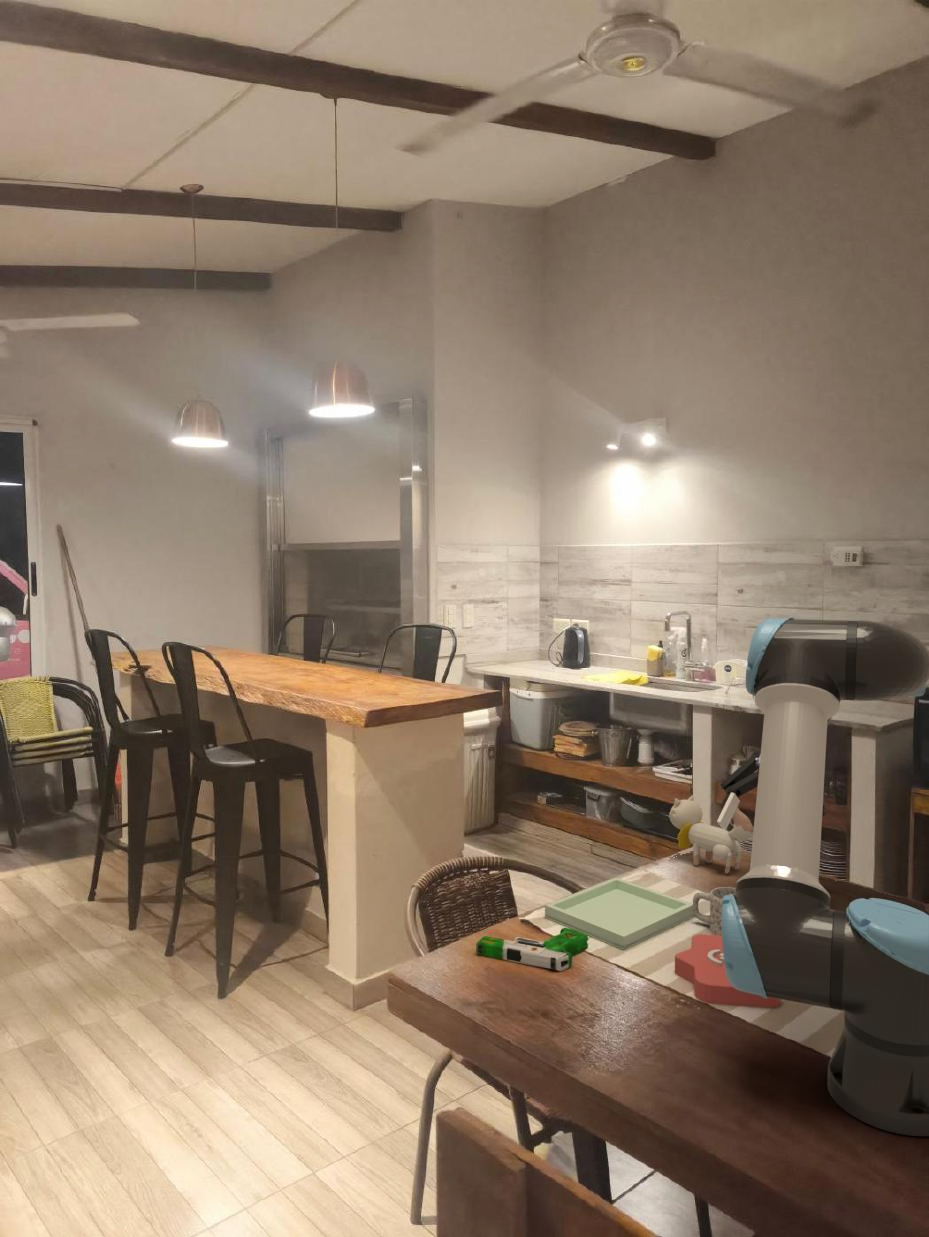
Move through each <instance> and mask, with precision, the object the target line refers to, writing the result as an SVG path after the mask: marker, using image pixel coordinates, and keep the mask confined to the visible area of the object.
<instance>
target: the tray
mask: <svg viewBox="0 0 929 1237" xmlns="http://www.w3.org/2000/svg"><path fill="white" fill-rule="evenodd" d="M544 918H545V919H547V920H550V921H552V922H555V923H557V924H560V925H562V926H564V927H566V928H568V929H572V930H576V931H579V932H583V933H585V934H586V935H587V936H589V937H592V938H594V939H597V940H599V941H600V942H603V943H605V944H608V945H610V946H613V947H616V948H618V949H620V950H622V951H625V950H627V949H630V948H631V947H634V946H636V945H637V944H640V943H642V942H644V941H646V940H648V939H651V938H653V937H655V936H656V935H657V936H658V935H659V934H661V933H663V932H665V931H667V930H669V929H671V928H673V927H676V926H677V925H680V924H682V923H684V922H686V921H688V920H690V919H692V918H695V917H694V913H693V902H692V903H691V902H689V901H685V900H683V899H680V898H677V897H674V896H673V895H672V896H671V895H668V894H665V893H662V892H659V891H656V890H654V889H651V888H648V887H645V886H642V885H639V884H636V883H633V882H630V881H627V880H624V879H621V878H618V877H613V878H610V879H608V880H606V881H603V882H601V883H598V884H595V885H593V886H591V887H588V888H585V889H583V890H580V891H577V892H575V893H573V894H570V895H568V896H565V897H562V898H560V899H557V900H555V901H551V902H550V903H548V904H544Z"/></svg>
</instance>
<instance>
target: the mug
mask: <svg viewBox="0 0 929 1237" xmlns="http://www.w3.org/2000/svg"><path fill="white" fill-rule="evenodd" d="M729 894H733V895H735V894H736V887H732V886H719V887H715V888H713V889H711V890H710V892H696V893H694V895H693V898H692V904H693V913H694V917H693V918H695V919H698V920H699V921H702V922H703V923H705V924H708V925H709V931H710V933H712V935H720V936H722V927H721V909H722V899H723V897H724V896H725V895H729ZM701 899H702V900H705V901H708V902H709V915H706V914H702V913H700V911H699V902H700V900H701Z"/></svg>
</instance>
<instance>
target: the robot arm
mask: <svg viewBox="0 0 929 1237" xmlns="http://www.w3.org/2000/svg"><path fill="white" fill-rule="evenodd" d="M928 682H929V649H928V647H927V646H926V645H925V643H924V642H922V640H921V639H919V638H918V637H917V636H915V635H913V634H912V633H910V632H907V631H905V630H903V629H900V628H898V627H895V626H891V625H889V624H886V623H881V622H876V621H870V620H843V619H840V620H838V619H835V620H834V619H805V618H803V619H799V618H798V619H797V618H794V617H789V616H788V617H786V618H768V619H764V620H763V621H762V622H760V623H759V624H758V625H757V626H756V628H755V629H754V633H753V636H752V638H751V642H750V646H749V650H748V655H747V665H746V670H745V689H746V691H747V693H748V694H750V695H752V696H754V703H755V706H756V707H757V709H759V710H760V711H761V712H762V713H763V725H762V735H761V746H760V752H759V751H758V750H755V751H753V752H752V753H751V755H750V757H749V758H748V759H747V760H746V762H744V763H743V764H741V766H740V767H738V768H737V769H736V770H735V771H733V772H732V773H731V774H730V775H729V776H728V777H726V778H725V779H724V780H723V781H722V782H721V783H720V787H721V790H723V791H724V793H725V794H726V795H725V796H724V798H723V800H722V803H721V805H720V807H721V809H722V810H721V813H720V814H719V816H718V819H717V820H716V822H717V824H718V825H719V826H720V828H722V829H724V830H727V829H728V826H729V825H730V823H731V821H732V820H733V818H732V817H733V815H734V812H735V810H736V808H737V806H738V807H739V805H740V802H741V800H740V799H739V798H740V797H741V796H744V795H745V794H747V793H748V792H750V791H752V790H754V789H756V788H757V791H756V799H755V800H756V801H755V802H756V803H755V809H754V810H755V811H754V812H755V813H754V821H753V822H754V823H753V829H754V831H753V836H752V843H751V844H752V845H751V853H750V854H751V856H750V865H749V867H750V868H749V871H748V872H747V873H746V874H744V875H743V876H741V877H740V878H739V879H737V881H736V886H735V888H736V894H735V895H733V894H729V895H725V896H724V897H723V899H722V909H721V927H722V946H723V957H724V965H725V971H726V976H727V979H728V981H729V982H730V984H731V985H732V986H733V987H734V988H735V989H737V990H739V991H743V992H747V993H751V994H755V995H760V996H762V997H763V998H766V999H767V997H771V998H777V999H780V1000H784V1001H788V1002H789V1001H790V1002H795V1003H798V1004H799V1003H801V1004H806V1005H810V1006H811V1005H812V1006H816V1007H821V1008H826V1009H831V1010H838V1011H842V1012H844V1024H843V1025H844V1026H843V1029H842V1031H841V1033H840V1036H839V1039H838V1041H837V1043H836V1046H835V1048H834V1050H833V1053H832V1055H831V1057H830V1060H829V1061H828V1067H827V1086H826V1087H827V1090H828V1092H829V1095H830V1097H831V1098H832V1100H833V1101H834V1102H835V1103H836V1104H837V1105H838V1106H839V1108H841V1109H842V1110H843V1111H844V1112H846V1113H847V1114H849V1115H850V1116H852V1117H853V1118H856V1119H857V1120H859V1121H861V1122H863V1123H865V1124H868V1125H869V1126H872V1127H874V1128H877V1129H879V1130H883V1131H886V1132H890V1133H893V1134H898V1135H899V1134H900V1135H904V1136H912V1137H929V914H928V913H926V912H924V911H922V910H919V909H917V908H914V907H912V906H910V905H907V904H903V903H901V902H897V901H893V900H889V899H883V898H878V897H877V898H876V897H869V898H868V899H866V898H863V897H862V898H861V897H860V898H856V899H854V900H852V901H851V902H850V903H849V905H848V906H847V907H846V910H845V911H842V910H837V909H831V907H830V906H831V895H830V894H829V892H828V891H827V890H826V888H824V886H822V884H821V883H820V880H819V879H820V865H821V864H820V862H821V860H820V859H821V843H822V824H823V823H822V822H823V817H825V815H827V814H826V813H827V811H826V804H825V795H824V793H825V792H824V790H825V786H824V785H825V772H826V770H825V769H826V753H827V752H826V751H827V750H826V749H827V734H828V727H829V725H830V723H831V720H832V719H833V717H834V716H836V715H837V714H838V713H839V711H840V707H841V706H840V705H841V704H840V702H841V701H853V702H854V701H858V702H871V701H874V702H875V701H884V700H890V699H891V700H892V699H895V698H903V697H905V698H908V697H922V696H924V695H925V694H926V687H927V683H928Z"/></svg>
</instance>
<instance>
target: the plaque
mask: <svg viewBox="0 0 929 1237" xmlns="http://www.w3.org/2000/svg"><path fill="white" fill-rule="evenodd" d="M674 974H675V975H678V977H681V978H683V979H685V980H686V981H689V982H690V983H692V984H693V989H694V990H693V991H694V996H695V998H696V999H698V1000H699V1001H702V1002H704V1003H708V1004H719V1005H726V1006H727V1005H729V1006H730V1005H731V1006H740V1007H749V1008H750V1007H751V1008H754V1007H755V1008H763V1009H772V1008H777V1007H778V1006H780V1004H781V999H777V998H771V997H767V999H766V998H763V997H762V996H760V995H755V994H751V993H747V992H743V991H739V990H737V989H735V988H734V987H733V986H732V985H731V984H730V982H729V981H728V979H727V976H726V971H725V965H724V957H723V946H722V936H720V935H714V934H706V933H705V934H704V933H699V934H695V935H693V936H692V937H691V948H687V949H686V950H683V951H681V952H678V953H676V954H675V955H674Z"/></svg>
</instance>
